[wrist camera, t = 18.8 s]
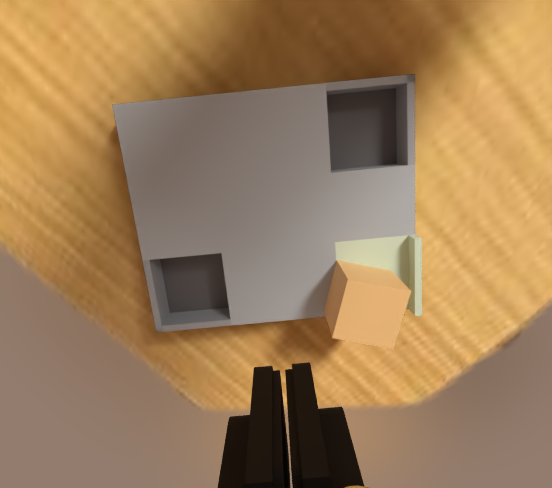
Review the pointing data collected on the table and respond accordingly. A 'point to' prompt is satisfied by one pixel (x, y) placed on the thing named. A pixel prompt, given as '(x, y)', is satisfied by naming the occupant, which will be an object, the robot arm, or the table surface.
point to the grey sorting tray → (270, 197)
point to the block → (365, 304)
